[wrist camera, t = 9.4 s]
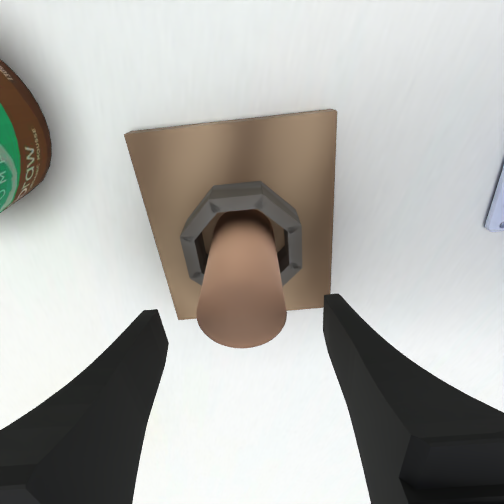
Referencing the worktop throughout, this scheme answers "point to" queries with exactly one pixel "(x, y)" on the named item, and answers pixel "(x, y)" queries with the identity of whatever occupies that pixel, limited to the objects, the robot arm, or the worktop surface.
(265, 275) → the peg
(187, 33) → the worktop surface
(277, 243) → the holder
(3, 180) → the food container
